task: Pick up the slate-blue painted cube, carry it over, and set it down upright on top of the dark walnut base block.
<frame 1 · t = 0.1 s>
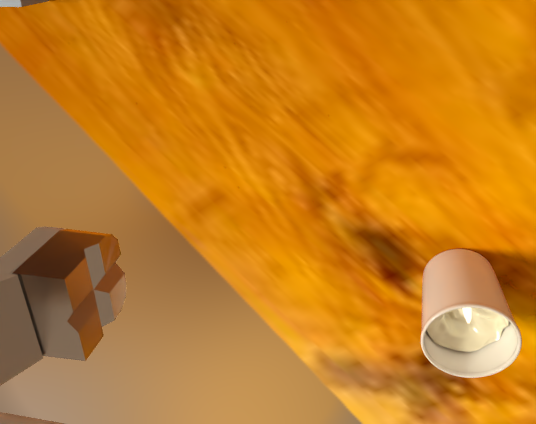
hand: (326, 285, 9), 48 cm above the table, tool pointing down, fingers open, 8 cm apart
candle holder: (457, 275, 64), on the table
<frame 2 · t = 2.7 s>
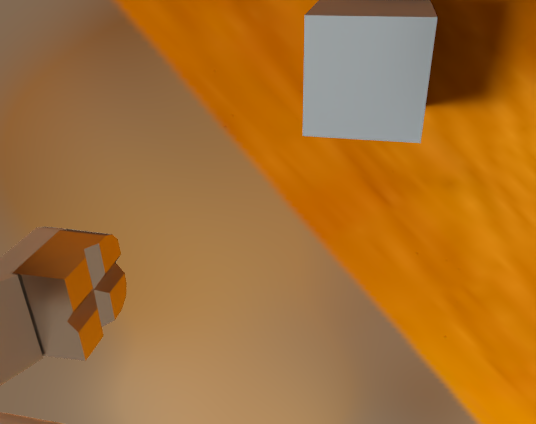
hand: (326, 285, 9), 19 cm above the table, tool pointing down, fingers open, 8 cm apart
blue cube: (369, 54, 25), on the table
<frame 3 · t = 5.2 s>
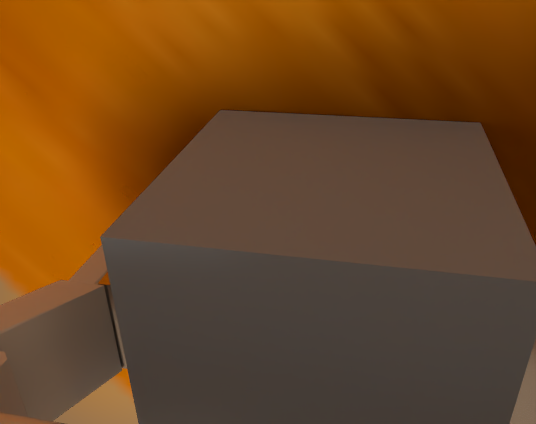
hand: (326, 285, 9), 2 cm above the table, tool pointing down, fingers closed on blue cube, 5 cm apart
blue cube: (338, 227, 11), on the table, touching gripper
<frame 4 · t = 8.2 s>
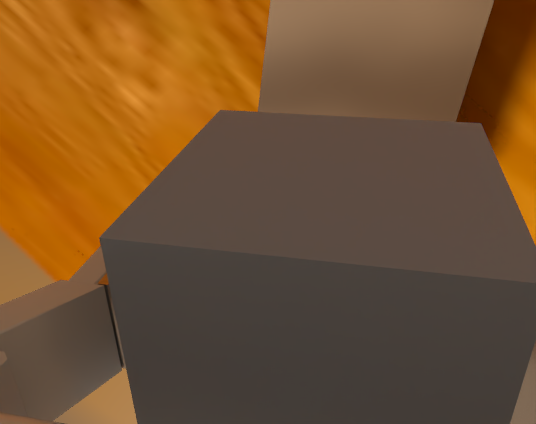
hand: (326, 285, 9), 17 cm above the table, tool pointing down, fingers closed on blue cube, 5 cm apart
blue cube: (338, 227, 11), point 15 cm above the table, touching gripper
walnut base: (363, 68, 24), on the table
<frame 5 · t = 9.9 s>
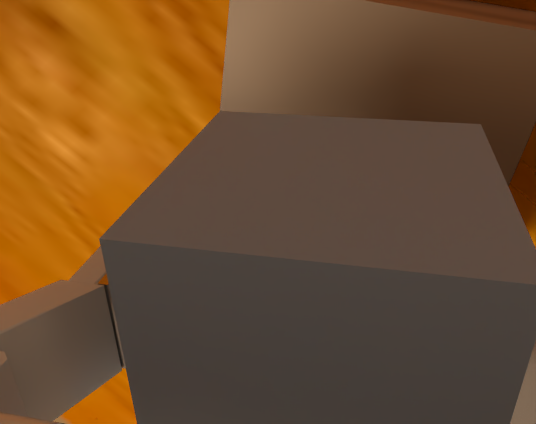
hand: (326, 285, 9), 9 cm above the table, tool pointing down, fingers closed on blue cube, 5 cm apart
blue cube: (338, 228, 11), point 7 cm above the table, touching gripper
walnut base: (365, 112, 18), on the table
when the fingers open (8 cm above the table, at t = 11.2 s): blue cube drops 2 cm, point 4 cm above the table.
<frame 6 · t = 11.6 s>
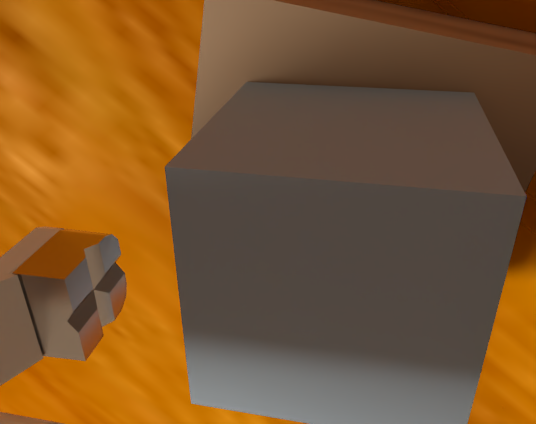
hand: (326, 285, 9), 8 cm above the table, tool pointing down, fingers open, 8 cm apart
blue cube: (348, 188, 13), point 4 cm above the table
walnut base: (353, 135, 16), on the table
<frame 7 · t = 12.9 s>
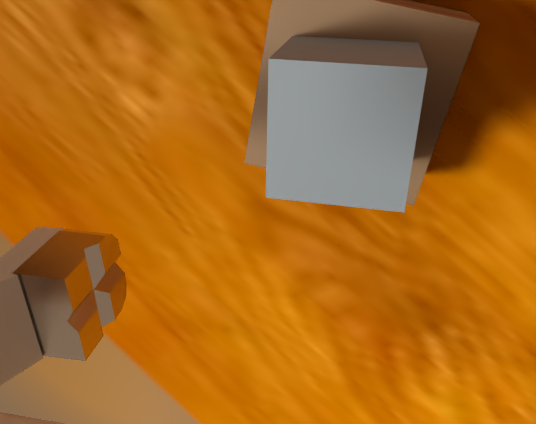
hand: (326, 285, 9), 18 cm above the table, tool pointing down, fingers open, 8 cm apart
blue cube: (348, 100, 22), point 4 cm above the table, touching walnut base
walnut base: (354, 78, 25), on the table, touching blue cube
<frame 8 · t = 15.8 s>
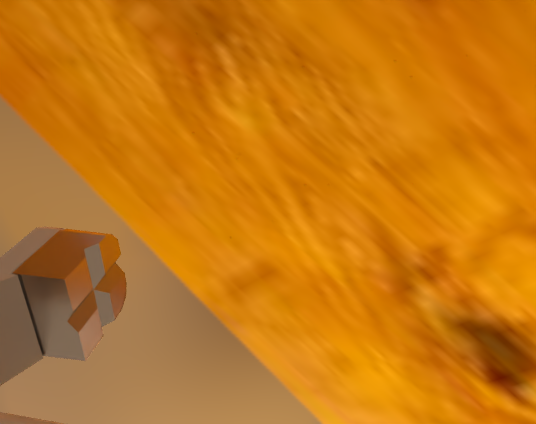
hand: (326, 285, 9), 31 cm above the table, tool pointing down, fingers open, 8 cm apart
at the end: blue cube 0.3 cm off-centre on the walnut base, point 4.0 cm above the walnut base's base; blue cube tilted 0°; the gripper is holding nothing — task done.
